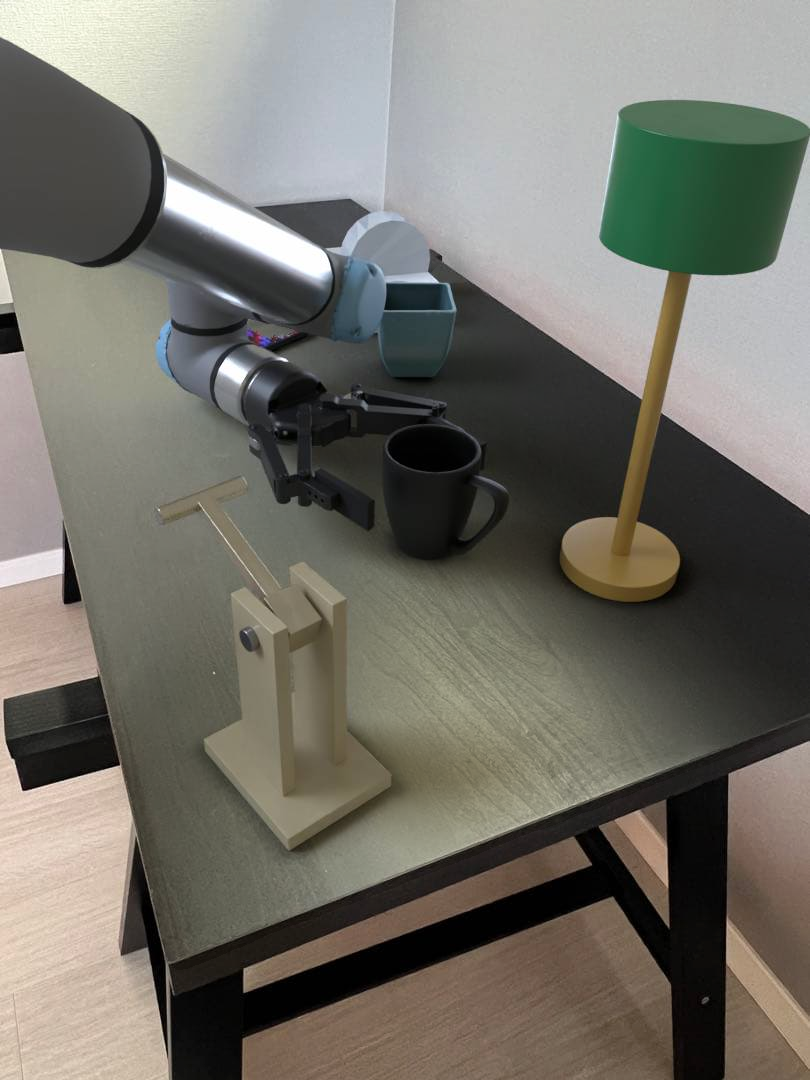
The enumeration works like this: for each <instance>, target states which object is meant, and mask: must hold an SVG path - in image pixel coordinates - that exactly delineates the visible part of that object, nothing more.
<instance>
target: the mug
mask: <svg viewBox="0 0 810 1080" xmlns="http://www.w3.org/2000/svg"><path fill="white" fill-rule="evenodd" d="M465 432H466V431H465ZM465 432H463V431H461V430H458V429H456V428H452V427H448V426H443V425H435V424H422V425H413V426H408V427H404V428H402V429H399V430H397V431H395V432H393V433H391V434H390V435H387V436H386V438H385V440H384V442H383V443H382V447H381V454H382V455H381V489H382V496H383V497H382V498H383V502H384V508H385V511H386V516H387V518H388V522H389V524H390V528H391V531H392V535H393V538H394V539H393V540H394V542H395V545H396V547H398V549H399V550H400V551H401V552H402V553H403V554H405V555H408V556H409V557H411V558H415V559H421V560H437V559H441V558H445V557H447V556H449V555H450V554H452V555H455V556H461V555H464V554H466V553H469V552H470V551H471V550H472V549H473V548H475V547H476V546H477V545H479V543H480V542H481V541H482V540H484V539H485V537H487V535H489V533H491V532H492V531H493V529H495V528H496V527H497V526H498V524H499V523H501V521H502V520H503V519H504V517H505V515H506V513H507V511H508V508H509V504H510V494H509V491H508V490H507V488H505V486H503V485H501V484H499V483H498V482H497V481H494V480H492V479H489V478H486V477H484V476H480V475H481V474H480V473H481V471H480V465H481V455H482V454H481V448H480V446H479V444H478V442H477V441H476V440H475V439H474V438H473V437H472V436H473V435H472V436H470V435H471V434H470V433H468V432H466V433H465ZM467 433H468V434H467ZM469 434H470V435H469ZM478 489H480V490H482V491H485V492H486V493H487V494H489V495H490V496H491V497H492V499H493V501H494V506H493V507H494V508H493V512H492V513H491V516H490V518H489V519H488V520H487V522H486V523H484V525H483V526H482V527H481V528H480V530H479V531H478V532H477V533H476V534H475V535H473V536H472V537H470V538H468V539H462V538H461V536H462V534H463V532H464V530H465V528H466V526H467V524H468V521H469V519H470V516H471V513H472V510H473V507H474V504H475V501H476V497H477V493H478Z"/></svg>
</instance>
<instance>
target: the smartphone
mask: <svg viewBox="0 0 810 1080" xmlns="http://www.w3.org/2000/svg"><path fill="white" fill-rule="evenodd" d="M247 330H248V329H247ZM250 330H251V329H250ZM250 330H248V339H249V340H250V341H252V342H253V343H255V344H257V345H259V346H260V347H263V348H265V349H267V350H269V351H271V352H272V351H273V350H275V349H278V348H279V347H282V346H284V345H287V344H290V343H292V342H294V341H296V340H298V339H300V338H303V337H305V336H307V335H309V333H305V332H301V331H297V330H295V332H297V333H294V332H293V335H290V334H292V333H290V334H288V335H287V336H288V337H287V336H282V335H283V334H281V337H280V336H278V337H280V338H278V337H274V336H275V335H274V336H273V338H272V337H271V338H272V339H270V338H266V337H267V336H266V337H263V335H262V336H260V335H259V334H257V332H258V331H256V332H253V331H254V330H253V331H250ZM276 338H277V339H276ZM269 339H270V340H269Z"/></svg>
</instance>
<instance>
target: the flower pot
mask: <svg viewBox="0 0 810 1080" xmlns="http://www.w3.org/2000/svg"><path fill="white" fill-rule="evenodd" d="M456 315H457V307H456V303H455V301H454V296H453V292H452V289H451V285H450V283H449V282H439V283H433V282H426V283H425V282H386V301H385V307H384V311H383V315H382V318H381V321H380V324H379V326H378V328H377V329H378V333H377V341H378V348H379V354H380V357H381V360H382V363H383V365H384V367H385V369H386V371H387V372H388V374H389V375H390V376H391V377H393V378H433V377H435V376H436V375H437V374H438V372H439V371H440V370H441V369H442V367H443V366H444V364H445V362H446V360H447V357H448V355H449V351H450V348H451V345H452V339H453V333H454V328H455V323H456Z"/></svg>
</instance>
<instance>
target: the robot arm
mask: <svg viewBox="0 0 810 1080" xmlns="http://www.w3.org/2000/svg"><path fill="white" fill-rule="evenodd" d="M0 250H7V251H13V252H19V253H25V254H31V255H38V256H44V257H48V258H53V259H57V260H61V261H65V262H68V263H71V264H74V265H76V266H78V267H79V266H80V267H84V268H88V269H99V270H100V269H106V268H107V269H108V268H111V267H114V266H117V265H120V264H121V265H124V266H126V267H128V268H132V269H135V270H137V271H139V272H140V271H141V272H143V273H145V274H148V275H151V276H154V277H156V278H159V279H161V280H164V281H166V288H167V296H168V304H169V312H170V319H168V320H167V322H165V323H164V325H162V327H161V328H160V331H159V336H158V339H157V342H156V344H155V359H156V361H157V364H158V366H159V368H160V370H161V371H162V372H163V373H164V374H165V376H167V377H168V378H170V379H171V380H172V381H173V382H175V384H177V385H178V387H180V388H181V389H182V390H184V391H186V392H187V393H189V394H192V395H195V396H196V397H198V398H200V399H202V400H204V401H206V402H207V403H209V404H211V405H212V406H214V407H215V408H217V409H219V410H220V411H222V412H224V413H225V414H226V415H229V416H231V418H234V419H235V420H237V421H239V422H240V423H242V424H244V425H245V426H247V431H248V446H249V447H248V448H249V452H250V453H251V454H253V455H254V456H255V457H256V458H257V459H259V460H260V463H261V465H262V468H263V470H264V473H265V475H266V478H267V480H268V483H269V486H270V488H271V491H272V493H273V496H274V498H275V501H276V503H278V504H280V505H286V504H290V502H291V501H292V500H291V499H292V498H296V497H297V504H298V506H300V507H303V508H307V507H310V506H312V505H313V503H314V504H315V505H317V506H319V507H320V508H321V509H323V510H325V511H328V512H333V511H335V512H336V513H338V514H339V515H341V516H342V517H345V518H346V519H347V520H350V522H353V523H354V524H356V525H357V526H359V527H360V528H362V529H363V530H365V531H367V532H369V531H370V530H372V529H374V528H375V516H376V515H375V513H376V510H375V509H376V504H375V503H376V499H374V498H373V497H370V496H369V495H367V494H366V493H364V492H363V491H361V490H360V489H357V488H356V487H354V486H353V485H351V484H349V483H348V482H346V481H344V480H343V479H341V478H339V477H337V476H336V475H335V474H333V473H331V472H329V471H328V470H326V469H324V468H323V467H320V468H318V469H316V470H314V475H313V447H314V448H315V447H322V448H325V447H327V446H329V445H331V444H333V443H334V442H335V441H338V440H342V439H345V438H354V439H361V438H363V437H364V436H365V435H378V436H389V435H390V434H391V433H393V432H395V431H397V430H399V429H402V428H404V427H408V426H413V425H422V424H435V425H443V426H448V427H452V428H456V429H458V430H461V431H463V432H465V433H467V434H469V435H470V436H472V437H473V438H474V439H475V440H476V441H477V442H478V444H479V446H480V448H481V454H482V455H481V465H480V472H481V471H483V470H485V462H486V453H487V442H486V441H484V440H482V439H480V438H479V437H476V436H474V435H473V434H470V433H468V432H466V431H465V430H464V429H463V428H462V427H460V426H458V425H456V424H454V423H452V422H450V421H448V420H447V407H448V406H447V402H444V401H441V400H436V399H429V398H425V397H419V396H414V395H409V394H405V393H399V392H393V391H388V390H384V389H383V390H382V389H377V388H374V387H371V386H369V385H366V384H363V383H361V382H353V383H352V384H351V385H350V392H349V393H347V394H344V395H342V394H338V393H332V392H330V391H328V390H327V389H326V387H325V386H324V384H323V382H322V381H321V380H320V379H319V377H317V375H315V374H314V373H313V372H311V371H308V370H307V369H305V368H302V367H301V366H299V365H297V364H295V363H293V362H290V361H289V360H288V359H287V358H285V357H283V356H281V355H280V354H277V353H275V352H273V351H272V350H271V351H269V350H267V349H265V348H263V347H260V346H259V345H257V344H255V343H253V342H252V341H250V340H249V339H248V330H247V321H248V319H251V320H255V321H260V322H263V323H266V324H273V325H277V326H281V327H285V328H289V329H293V330H297V331H301V332H305V333H309V334H310V335H313V336H316V337H317V336H318V337H322V338H324V339H329V340H331V341H334V342H337V341H341V342H346V343H351V344H363V343H365V342H367V341H368V340H370V339H371V338H372V337H373V335H374V334H376V333H375V331H376V330H377V328H378V326H379V324H380V321H381V318H382V315H383V311H384V307H385V301H386V282H385V278H384V274H383V272H382V270H381V269H380V267H379V266H378V265H376V264H375V263H373V262H369V261H365V260H361V259H358V258H356V257H355V256H352V255H350V256H344V255H339V254H336V253H332V252H330V251H328V250H326V249H325V248H324V247H323V246H321V245H319V244H317V243H316V242H313V241H311V240H309V239H308V238H306V237H305V236H303V235H301V234H300V233H298V232H296V231H294V230H292V229H291V228H290V227H288V226H286V225H284V224H283V223H281V222H280V221H277V220H276V219H274V218H272V216H269V215H267V214H266V213H265V212H263V211H261V210H260V209H258V208H256V207H254V206H253V205H251V204H249V203H248V202H246V201H244V200H243V199H241V198H239V197H237V196H236V195H234V194H232V193H231V192H229V191H227V190H225V189H224V188H222V187H221V186H219V185H217V184H216V183H214V182H212V181H211V180H208V179H207V178H205V177H204V176H202V175H201V174H199V173H197V172H195V171H194V170H192V169H190V168H189V167H187V166H185V165H184V164H182V163H181V162H179V161H177V160H175V159H174V158H172V157H170V156H168V155H167V154H165V153H164V152H163V150H162V147H161V145H160V143H159V141H158V139H157V138H156V135H155V134H154V133H153V132H152V130H151V129H150V128H149V127H148V126H147V124H145V123H144V122H143V121H142V120H141V119H140V118H138V117H137V116H135V115H134V114H132V113H130V112H128V111H127V110H126V109H124V108H123V107H121V106H119V105H118V104H116V103H115V102H113V101H111V100H110V99H108V98H106V97H104V96H103V95H101V94H100V93H98V92H97V91H95V90H94V89H92V88H90V87H89V86H87V85H85V84H84V83H82V82H80V81H79V80H77V78H74V77H72V76H70V75H69V74H67V73H66V72H64V71H63V70H61V69H59V68H58V67H56V66H54V65H53V64H51V63H49V62H47V61H45V60H43V59H42V58H40V57H38V56H36V55H35V54H33V53H31V52H29V51H27V50H26V49H24V48H22V47H20V46H18V45H17V44H15V43H13V42H11V41H10V40H7V39H5V38H3V37H1V36H0ZM309 334H308V335H309ZM351 411H355V412H356V426H352V413H351ZM278 445H279V446H292V445H297V452H296V453H297V454H296V455H297V456H296V473H295V474H290V472H289V469H288V468H287V465H286V463H285V461H284V458H283V457H282V454H281V452H280V449H279V447H278Z"/></svg>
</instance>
